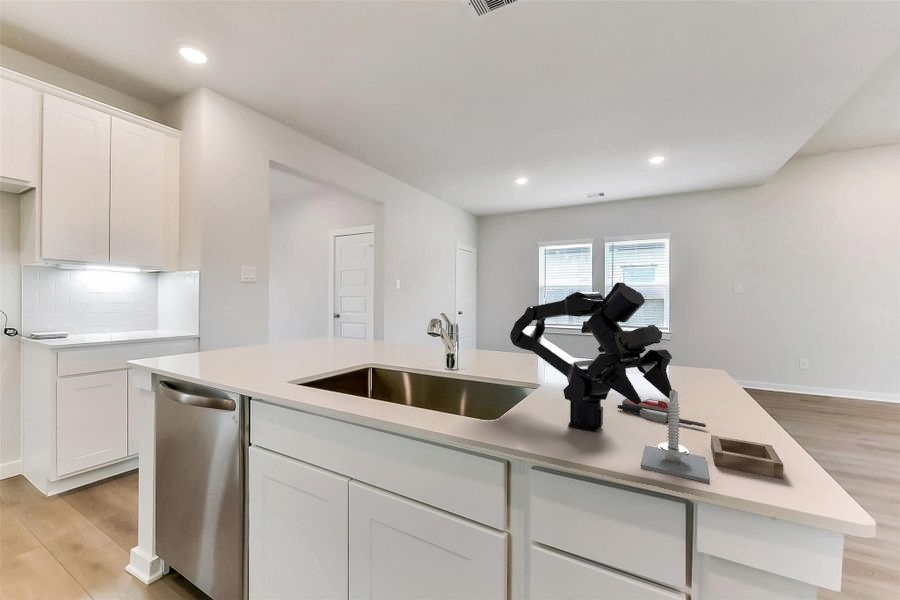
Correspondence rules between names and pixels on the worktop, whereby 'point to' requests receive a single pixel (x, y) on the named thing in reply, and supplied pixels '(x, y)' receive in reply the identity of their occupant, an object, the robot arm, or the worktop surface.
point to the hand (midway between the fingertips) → (656, 400)
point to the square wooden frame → (746, 456)
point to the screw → (673, 433)
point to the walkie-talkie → (653, 410)
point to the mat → (676, 464)
